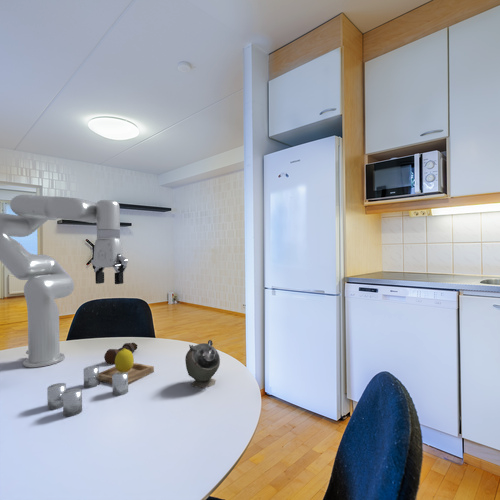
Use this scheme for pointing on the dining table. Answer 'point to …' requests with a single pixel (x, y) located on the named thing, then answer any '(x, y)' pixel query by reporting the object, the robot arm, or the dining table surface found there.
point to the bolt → (112, 353)
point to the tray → (133, 374)
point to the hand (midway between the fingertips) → (109, 283)
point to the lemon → (124, 360)
